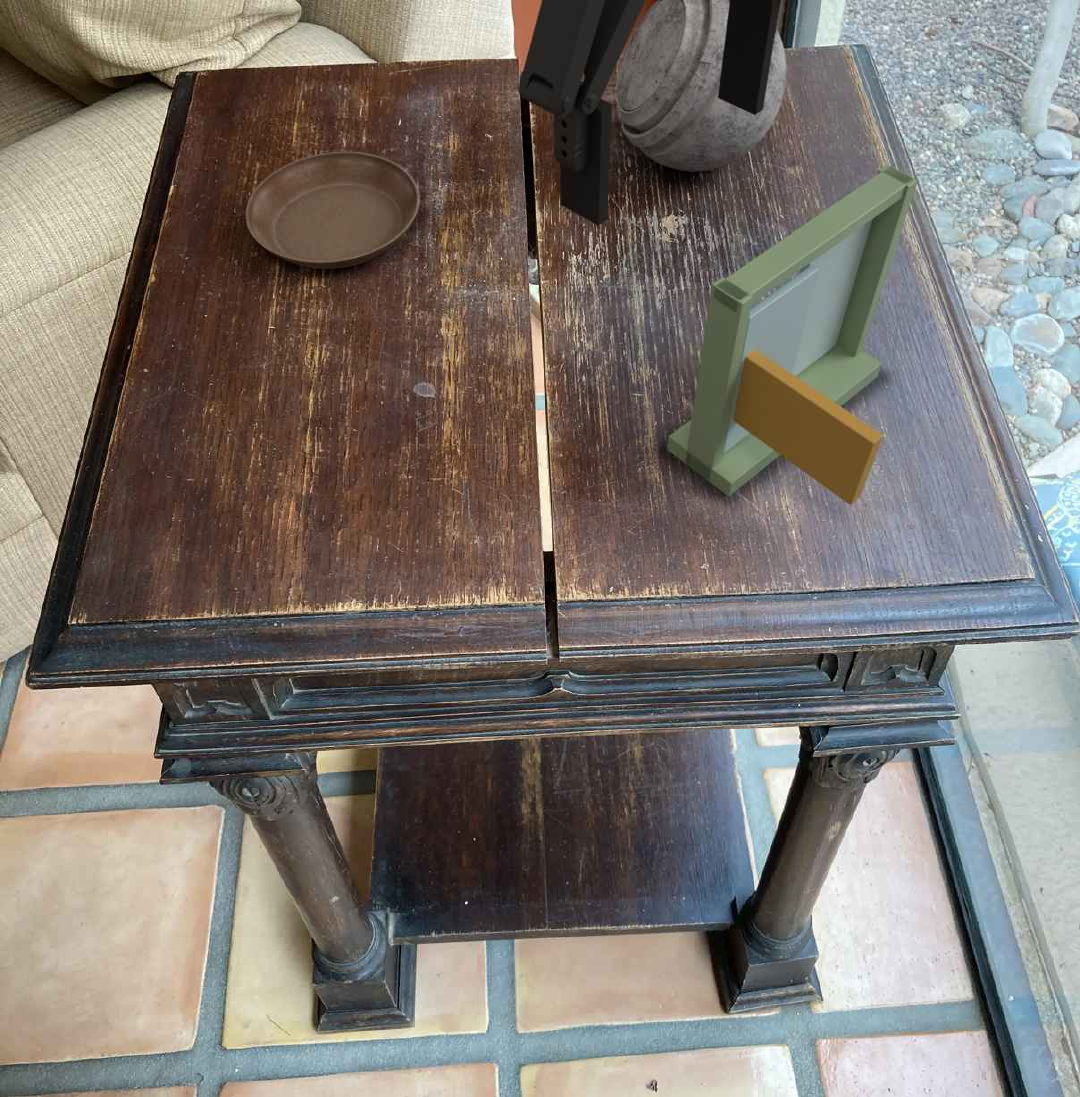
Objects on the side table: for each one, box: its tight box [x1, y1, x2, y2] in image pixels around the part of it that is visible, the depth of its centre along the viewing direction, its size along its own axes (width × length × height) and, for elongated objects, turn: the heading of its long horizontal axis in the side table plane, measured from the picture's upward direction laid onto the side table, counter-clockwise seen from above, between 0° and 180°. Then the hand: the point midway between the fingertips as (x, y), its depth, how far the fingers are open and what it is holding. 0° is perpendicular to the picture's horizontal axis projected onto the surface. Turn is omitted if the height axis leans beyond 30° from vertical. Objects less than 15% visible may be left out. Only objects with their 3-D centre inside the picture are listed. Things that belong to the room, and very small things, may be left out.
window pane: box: [723, 265, 884, 506], centre depth 68 cm, size 10×7×13 cm, turn 42°
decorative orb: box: [615, 0, 787, 172], centre depth 91 cm, size 15×14×15 cm
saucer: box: [245, 151, 421, 270], centre depth 90 cm, size 15×15×3 cm
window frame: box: [666, 164, 918, 497], centre depth 71 cm, size 6×17×16 cm, turn 132°
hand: (665, 156), depth 58 cm, fingers open, 13 cm apart
